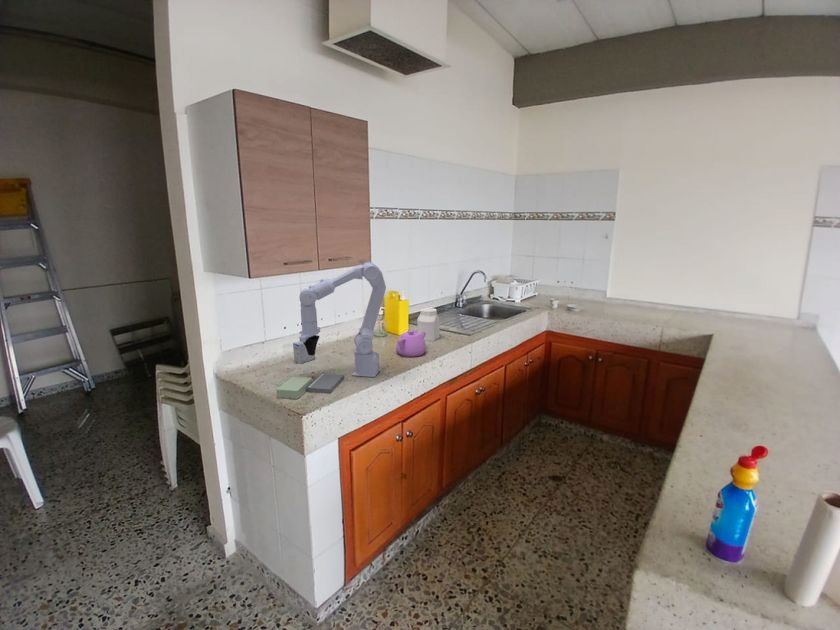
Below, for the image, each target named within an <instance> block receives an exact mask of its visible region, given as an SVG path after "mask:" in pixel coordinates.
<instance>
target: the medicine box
mask: <svg viewBox="0 0 840 630" xmlns="http://www.w3.org/2000/svg"><path fill="white" fill-rule="evenodd" d="M292 346H293V359H294V363H296V362H297V363H296V364H298V365H302V364H304V363H307V361H308V362H311V361H313V360H314V361H315V359H316V354H315V355H314V356H311V355H308V352H307V349H306V347H305V345H304V343H303V342H300V340H298V341H296V342H293V344H292Z"/></svg>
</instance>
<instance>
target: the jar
mask: <svg viewBox="0 0 840 630" xmlns="http://www.w3.org/2000/svg"><path fill="white" fill-rule="evenodd" d="M438 315H439V314H438V312H437V309H436V308H433V307H425V308H421V309H420V314H419V316H418V317H417V320H416V322H417V333H419V334H421V332H422V331H423V332H425V333H426V334H425V337H424V341H425V342H435V341H436V340H437V339H440V338H441V337H440V331H441V329H440V323H441V322H440V317H439V316H438Z"/></svg>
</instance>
